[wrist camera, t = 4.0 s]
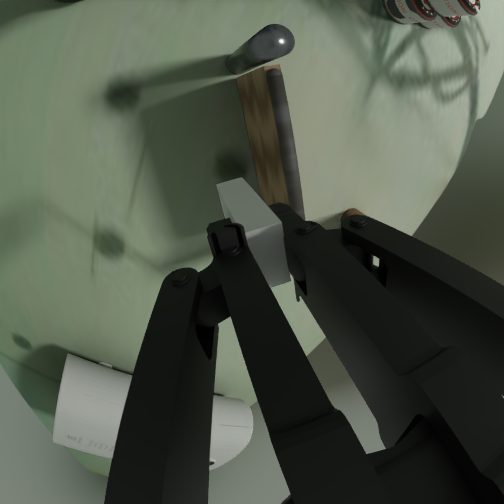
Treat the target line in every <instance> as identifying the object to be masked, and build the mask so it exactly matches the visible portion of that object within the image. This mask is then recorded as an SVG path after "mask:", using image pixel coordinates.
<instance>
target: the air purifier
mask: <svg viewBox="0 0 504 504" xmlns="http://www.w3.org/2000/svg"><path fill="white" fill-rule="evenodd" d="M131 379H132V375H129V374H126V373H123V372H119V371H116V370H113V369H112V365H110V364H107V363H104V362H99V363H98V364H96V363H93V362H90V361H87V360H85V359H82V358H80V357H77V356H74V355H72V354H69V353H68V354H67V357H66V361H65V366H64V370H63V375H62V379H61V384H60V389H59V395H58V400H57V406H56V413H55V420H54V428H53V438H52V441H53V442H55V443H57V444H61V445H64V446H67V447H70V448H73V449H76V450H80V451H83V452H87V453H91V454H95V455H99V456H103V457H107V458H112V457H113V452H114V448H115V443H116V439H117V434H118V430H119V426H120V421H121V417H122V413H123V409H124V405H125V401H126V398H127V394H128V390H129V386H130V383H131ZM252 432H253V416H252V412H251V410H250V407H249V406H248V404H247V403H246V402H245V401H243V400H241V399H235V398H229V397H223V396H217V395H214V397H213V412H212V428H211V445H210V464H209V470H212V469H215V468H217V467H220V466H222V465H223V464H225V463H227V462H228V461H230V460H231V459H233V458H234V457H235V456H237V455H238V454H239V453H240V452H241V451H242V450H243V449H244V448H245V447H246V446H247V444H248V443H249V441H250V438H251V436H252Z"/></svg>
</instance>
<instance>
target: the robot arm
mask: <svg viewBox="0 0 504 504" xmlns="http://www.w3.org/2000/svg"><path fill="white" fill-rule="evenodd" d="M54 1H58V2H74V1H79V0H54ZM216 186H217V190H218V194H219V198H220V201H221V205H222V209H223V213H224V217H225V219H223V220H220V221H216V222H213V223H210V224H209V225H208V227H207V229H206V230H207V233H208V236H207V238H208V241H209V245H210V248H211V251H212V254H213V257H214V258H213V261H212V262H211V264H210V265H209V266H208V267H207V268H205V269H204V270H202V271H200V272H197V271H196V270H195V269H193V268H181V269H177V270H175V271H173V272H171V273H170V274H169V275H168V276H166V277H165V279H164V281H163V283H162V285H161V288H160V291H159V294H158V297H157V300H156V302H155V305H154V308H153V311H152V314H151V317H150V320H149V323H148V326H147V329H146V333H145V336H144V339H143V342H142V345H141V349H140V352H139V355H138V358H137V362H136V365H135V369H134V372H133V376H132V379H131V383H130V386H129V390H128V394H127V398H126V401H125V405H124V409H123V413H122V417H121V421H120V426H119V430H118V434H117V439H116V443H115V448H114V452H113V457H112V462H111V467H110V472H109V478H108V484H107V489H106V495H105V502H104V504H208V486H209V464H210V445H211V428H212V412H213V397H214V383H215V370H216V357H217V345H218V333H219V327H218V323H220V322H222V321H223V320H225V319H227V318H228V317H230V316H231V319H232V322H233V325H234V329H235V332H236V335H237V338H238V341H239V345H240V348H241V351H242V354H243V357H244V360H245V363H246V366H247V370H248V373H249V376H250V379H251V382H252V385H253V388H254V391H255V394H256V397H257V400H258V402H259V405H260V408H261V411H262V414H263V417H264V419H265V422H266V426H267V428H268V431H269V435H270V439H271V442H272V445H273V448H274V450H275V454H276V456H277V459H278V461H279V464H280V467H281V470H282V472H283V475H284V477H285V480H286V483H287V485H288V488H289V491H290V493H291V494H290V495H289V496H288V497H287V498H286V499H285V500H284V501H283V502H282V503H281V504H504V398H503V397H502V395H503V396H504V286H503V285H501V284H500V283H498V282H496V281H495V280H493V279H491V278H490V277H488V276H486V275H484V274H483V273H481V272H479V271H477V270H475V269H474V268H472V267H470V266H468V265H466V264H465V263H463V262H461V261H459V260H457V259H455V258H453V257H451V256H450V255H448V254H446V253H444V252H442V251H440V250H438V249H436V248H434V247H432V246H430V245H428V244H426V243H424V242H422V241H420V240H418V239H416V238H414V237H412V236H410V235H408V234H406V233H403V232H401V231H399V230H397V229H395V228H393V227H390V226H388V225H386V224H384V223H382V222H379V221H377V220H375V219H373V218H370V217H368V216H364V215H359V214H355V215H350V216H348V217H345V218H344V219H342V221H341V228H340V229H332V230H325V229H324V228H323V227H322V226H321V225H320V224H318V223H316V222H313V221H304V220H303V219H302V218H301V217H300V216H299V215H298V214H297V213H296V212H295V211H294V210H292V208H291V207H290V206H289V205H287V204H284V203H281V202H279V203H276V204H272V205H269V206H267V205H266V204H265V202H264V201H263V200H262V199H261V198H260V197H259V196H258V195H257V193H256V192H255V191H254V190H253V189H252V188H251V187H250V186H249V185H248V183H247V182H246V181H245V180H244V179H243V178H242V177H241V178H237V179H233V180H230V181H226V182H223V183H219V184H216ZM373 255H374V256H376V257H377V258H379V267H377V266H375V265H373ZM289 271H290V272H291V274H292V275H293V277H294V284H295V292H296V299H297V302H299V301H300V298H299V296H301V297H302V299H303V301H304V302H305V304H306V305H307V307H308V309H309V310H310V312H311V313H312V315H313V317H314V318H315V320H316V321H317V323H318V325H319V326H320V328H321V330H322V331H323V333H324V334H325V336H326V338H327V339H328V341H329V342H330V344H331V346H332V347H333V349H334V351H335V352H336V354H337V355H338V357H339V359H340V360H341V362H342V364H343V365H344V367H345V368H346V370H347V372H348V374H349V375H350V377H351V378H352V380H353V381H354V383H355V385H356V387H357V388H358V390H359V391H360V393H361V395H362V397H363V398H364V400H365V402H366V403H367V405H368V407H369V408H370V410H371V412H372V414H373V415H374V417H375V418H376V421H377V423H378V427H379V433H380V437H381V440H382V442H383V444H384V446H385V448H386V449H384V450H381V451H377V452H374V453H369V454H366V453H365V451H364V449H363V447H362V445H361V444H360V442H359V440H358V438H357V436H356V434H355V433H354V431H353V429H352V427H351V425H350V423H349V422H348V420H347V419H346V417H345V415H344V414H343V413H342V412H341V411H340V410H337V409H335V408H334V407H333V406H332V404H331V402H330V401H329V399H328V397H327V395H326V393H325V391H324V389H323V387H322V385H321V383H320V382H319V380H318V378H317V376H316V374H315V372H314V370H313V368H312V366H311V364H310V362H309V361H308V359H307V357H306V355H305V353H304V351H303V349H302V347H301V345H300V343H299V342H298V340H297V338H296V336H295V334H294V332H293V330H292V328H291V326H290V325H289V323H288V321H287V319H286V317H285V315H284V313H283V311H282V309H281V307H280V306H279V304H278V302H277V300H276V298H275V296H274V294H273V292H272V290H271V287H274V286H277V285H280V284H283V283H286V282H289V281H291V279H290V272H289Z"/></svg>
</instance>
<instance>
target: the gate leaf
mask: <svg viewBox="0 0 504 504" xmlns="http://www.w3.org/2000/svg"><path fill="white" fill-rule="evenodd" d="M236 80H237V85H238V89H239V94H240V99H241V103H242V108H243V112H244V117H245V122H246V126H247V131H248V136H249V141H250V145H251V150H252V155H253V160H254V165H255V170H256V175H257V180H258V185H259V190H260V195H261V199H262V200H263V201H264V202H265V204H266V205H267V206H269V205H272V204H276V203H279V202H281V203H284V204H287V205H289V206H290V207H291V208H292V210H294V211H295V212H296V213H297V214H298V215H299V216H300V217H301V218H302V219H303V220H304V221H305V214H304V206H303V198H302V190H301V183H300V176H299V169H298V162H297V155H296V149H295V142H294V136H293V130H292V124H291V118H290V113H289V107H288V102H287V96H286V91H285V86H284V81H283V76H282V72H281V68H280V65H271V66H264V67H261V68H259V69H256V70H254V71H251V72H249V73H247V74H244V75H242V76H240V77H238V78H236Z"/></svg>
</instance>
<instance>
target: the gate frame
mask: <svg viewBox="0 0 504 504" xmlns="http://www.w3.org/2000/svg"><path fill="white" fill-rule="evenodd" d="M294 44H295V40H294V36H293V34H292V33H291V31H290V30H289V29H287V28H286V27H284V26H282V25H279V24H271V25H267V26H265V27H264V28H263V29H261V30H260V31H259V32H258V33H256V34H255V35H254V36H253V37H251V38H250V39H249V40H248V41H247V42H245V43H244V44H243V45H242V46H241V47H240V48H238V49H237V50H236V51H235V52H234V53H233V54H231V55H230V56H229V57H228V59H227V61H226V66H227V69H228V70H229V71H230V72H232V73H234V74H242V73H244V72H247V71H249V70H251V69H253V68H255V67H258V66H260V65H262V64H265V63H267V62H270V61H272V60H274V59H277V58H279V57H282V56H285V55H287V54H289V53H290V52H291V51H292V49H293V47H294ZM355 214H359V215H364V216H366V215H365V214H363V213H362V212H360V211H359V210H357V209H355V208H352V209H349V210H347V211H346V212H345V213H344V214H343V216H342V219H344V218H345V217H348V216H350V215H355ZM342 219H341V221H342ZM289 272H290V271H289ZM290 273H291V272H290ZM291 275H292V274H291ZM292 276H293V275H292ZM293 278H294V277H293Z"/></svg>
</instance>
